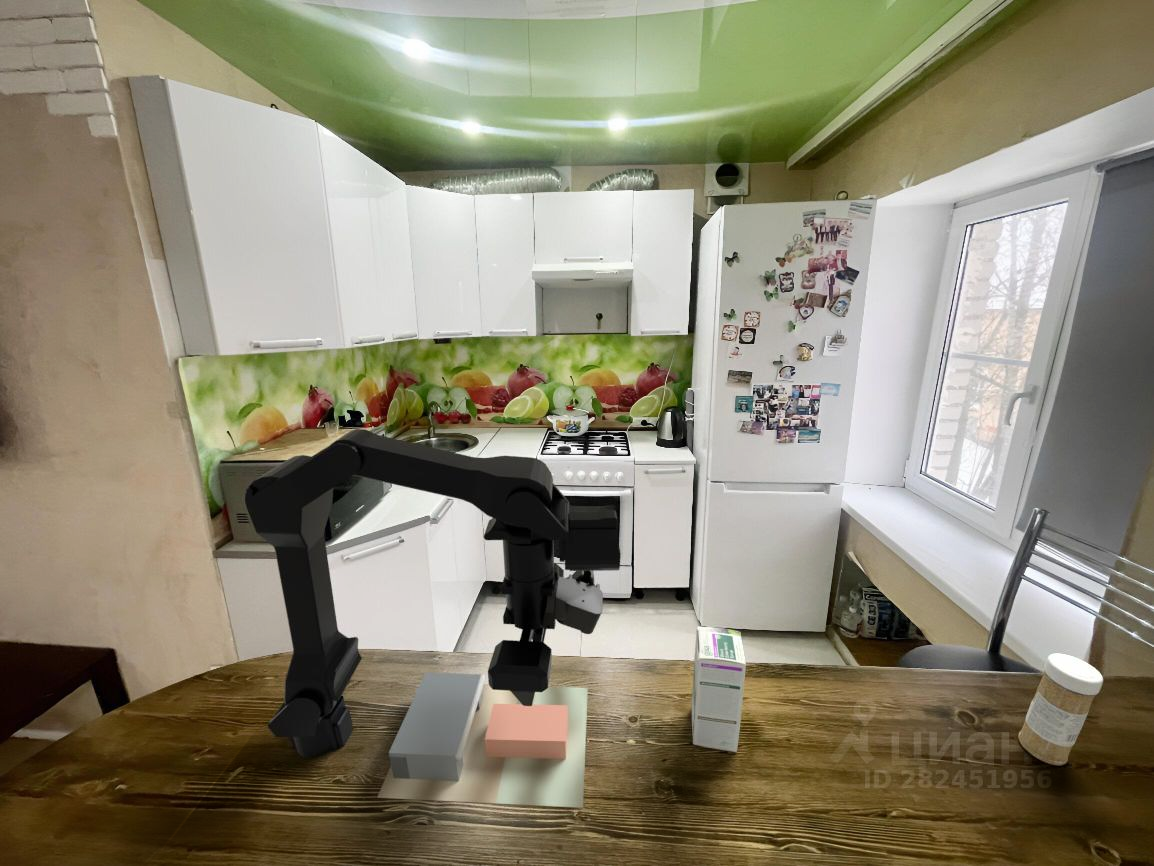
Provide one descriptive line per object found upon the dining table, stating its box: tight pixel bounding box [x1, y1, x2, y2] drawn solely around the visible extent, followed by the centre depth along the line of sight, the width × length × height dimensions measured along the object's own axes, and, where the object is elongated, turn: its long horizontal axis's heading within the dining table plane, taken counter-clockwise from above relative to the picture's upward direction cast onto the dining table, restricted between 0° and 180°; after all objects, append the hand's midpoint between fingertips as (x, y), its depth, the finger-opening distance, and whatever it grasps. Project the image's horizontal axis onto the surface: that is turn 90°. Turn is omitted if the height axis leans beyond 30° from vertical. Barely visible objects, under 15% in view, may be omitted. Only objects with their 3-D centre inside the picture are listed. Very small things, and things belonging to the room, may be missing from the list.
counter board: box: [377, 683, 589, 809], centre depth 60 cm, size 24×16×1 cm, turn 87°
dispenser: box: [388, 672, 487, 781], centre depth 59 cm, size 9×12×4 cm
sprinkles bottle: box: [1017, 653, 1104, 766], centre depth 55 cm, size 5×5×14 cm
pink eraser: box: [485, 704, 568, 759], centre depth 59 cm, size 10×5×3 cm, turn 88°
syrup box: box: [691, 625, 747, 753], centre depth 59 cm, size 6×6×14 cm
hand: (533, 672), depth 57 cm, fingers open, 9 cm apart
